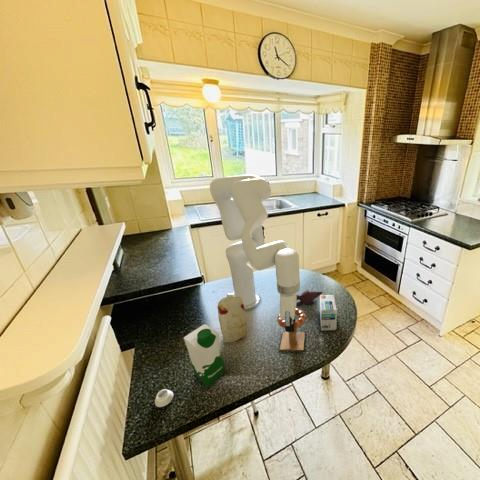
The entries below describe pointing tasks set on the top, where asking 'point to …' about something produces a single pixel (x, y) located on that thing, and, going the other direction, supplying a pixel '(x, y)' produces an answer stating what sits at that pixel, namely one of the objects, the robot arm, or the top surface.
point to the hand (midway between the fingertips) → (290, 327)
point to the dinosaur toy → (307, 297)
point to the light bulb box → (328, 312)
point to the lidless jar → (163, 398)
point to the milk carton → (205, 354)
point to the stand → (292, 340)
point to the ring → (296, 323)
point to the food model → (232, 318)
